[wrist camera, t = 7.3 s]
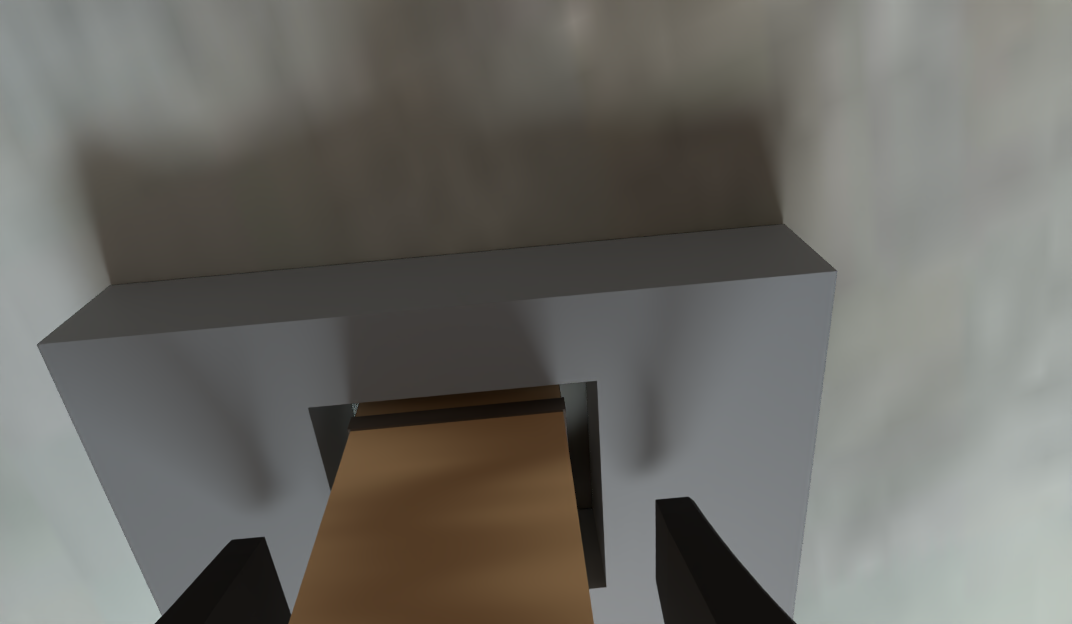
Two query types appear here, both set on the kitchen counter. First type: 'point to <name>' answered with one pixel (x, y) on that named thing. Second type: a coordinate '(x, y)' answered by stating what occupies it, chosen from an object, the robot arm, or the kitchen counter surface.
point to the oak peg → (451, 516)
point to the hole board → (463, 367)
